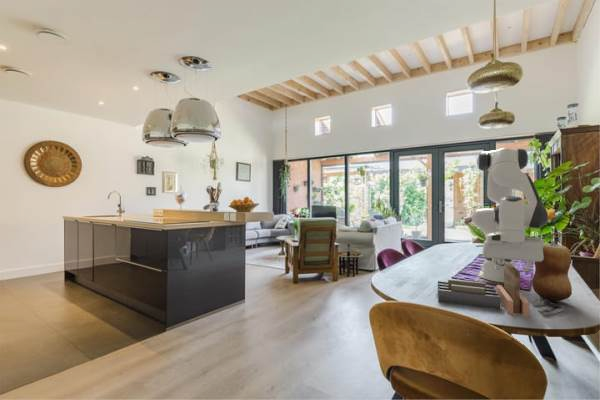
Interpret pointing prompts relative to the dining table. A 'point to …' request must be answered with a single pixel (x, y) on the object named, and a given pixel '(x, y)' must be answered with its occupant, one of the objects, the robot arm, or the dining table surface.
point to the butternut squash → (553, 273)
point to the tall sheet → (512, 285)
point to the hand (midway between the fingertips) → (511, 270)
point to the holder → (508, 302)
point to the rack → (469, 297)
